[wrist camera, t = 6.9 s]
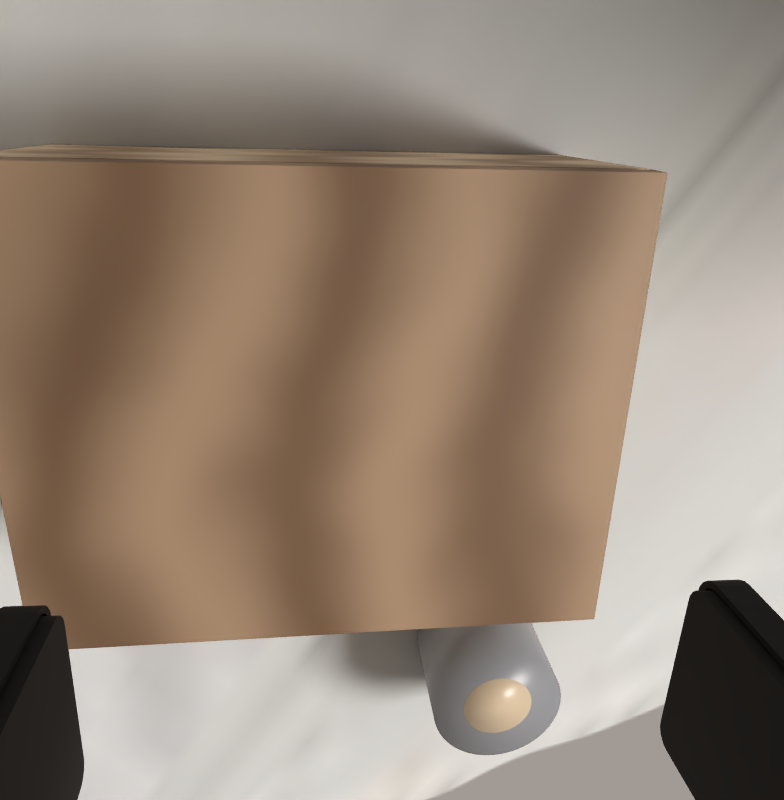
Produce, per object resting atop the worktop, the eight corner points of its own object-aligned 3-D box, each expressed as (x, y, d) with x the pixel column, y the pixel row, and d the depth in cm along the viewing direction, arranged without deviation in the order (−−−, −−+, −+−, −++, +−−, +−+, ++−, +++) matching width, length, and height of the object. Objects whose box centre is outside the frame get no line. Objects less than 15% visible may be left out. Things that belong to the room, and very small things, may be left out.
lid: (652, 169, 22) (667, 172, 21) (584, 601, 28) (594, 619, 27) (-52, 156, 20) (-69, 159, 19) (41, 631, 26) (31, 651, 25)
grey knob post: (534, 583, 37) (567, 650, 33) (524, 675, 40) (553, 750, 35) (420, 589, 37) (437, 658, 32) (415, 683, 39) (431, 759, 34)
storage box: (560, 155, 30) (646, 168, 22) (525, 499, 35) (584, 601, 28) (47, 144, 27) (-46, 155, 20) (99, 515, 33) (42, 630, 26)
